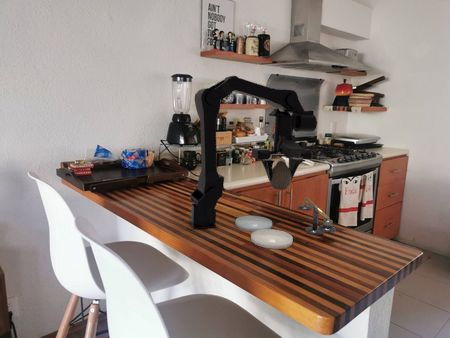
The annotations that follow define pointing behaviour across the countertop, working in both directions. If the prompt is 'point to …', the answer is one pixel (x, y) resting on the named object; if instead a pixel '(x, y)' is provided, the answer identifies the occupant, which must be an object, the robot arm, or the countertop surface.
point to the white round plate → (253, 223)
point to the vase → (280, 176)
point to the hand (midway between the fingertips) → (280, 180)
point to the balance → (326, 222)
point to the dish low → (271, 239)
